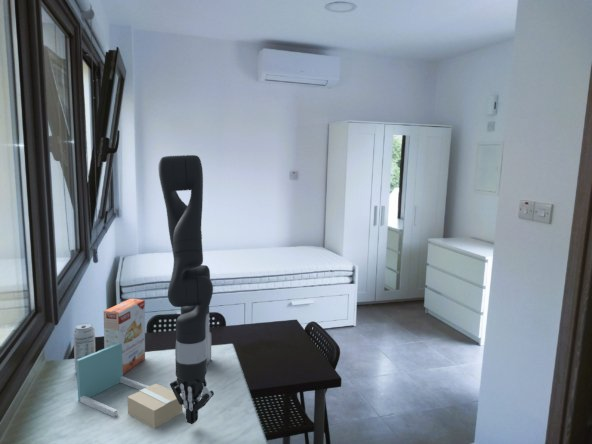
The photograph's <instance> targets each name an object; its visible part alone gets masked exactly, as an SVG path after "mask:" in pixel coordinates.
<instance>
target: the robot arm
mask: <svg viewBox="0 0 592 444" xmlns="http://www.w3.org/2000/svg"><path fill="white" fill-rule="evenodd" d="M158 161H159V162H158V177H159V182H160V186H161V191H162V194H163V200H164V204H165V209H166V216H167V217H166V218H167V226H168V227H167V228H168V232H169V233H168V235H169V241H170V244H171V245H170V246H171V251H172V255H173V266H172V267H173V268H172V273H171V277H170V281H169V285H168V290H167V299H168V301H169V303H170V304H171V305H172V306H173V307H175V308H180V315H178V317H177V318H176V321H175V322H176V323H175V333H176V335H175V339H176V340H175V349H174V351H175V354H174V356H175V360H174V361H175V362H174V363H175V376H176V379H175V380H173V381H172V382H170V383H169V386H170V388H171V391H173V392H174V394H175V396H176V398H177V400H178V402H179V404H180V405H182V406H183V408H184V409H185V419H186V424H190V425H193V424H195V423H196V422H197V421H198V419H199V410H201V409H202V408H204V407H205V406H206V405H207V403H208V402H209V401H210V400H211V399H212V398H213V396H214V394H215V393H214V390H209V389H208V388H207V381H206V375H207V371H208V368H207V367H208V364H209V363H210V361H211V360H212V332H210V305H211V301H212V298H213V293H214V285H213V282H212V280H211V271H210V268H209V266H208V265H206V264H205V265H203V263H204V253H203V252H204V250H203V241H202V239H203V234H202V220H203V219H202V215H203V201H204V200H203V198H204V175H203V174H204V173H203V165H202V164H203V163H202V162H201V161H202V160H201V158H200V157H199V156H198V155H195V154H193V155H192V154H190V155H189V154H186V155H185V154H184V155H167V156H162V157H161V158H160V159H159V160H158ZM179 191H180V192H181V191H190V196H189V197H190V198H189V201H188V204H186V203H185V202H184V201H183V200H182V199H181V198H180V196H179V194H178V192H179ZM180 395H182V398H181V396H180Z"/></svg>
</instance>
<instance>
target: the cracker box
mask: <svg viewBox="0 0 592 444" xmlns="http://www.w3.org/2000/svg"><path fill="white" fill-rule="evenodd" d="M145 305H146V301H145V300H144V299H138V298H129V299H127V300H125V301H122V302H120V303H117V304H116V305H114V306H112V307H109V308H106V309H105V310H104V311H103V338H104V339H103V343H104V344H103V346H104V348H103V349H105V348H107V347H110V346H112V345H115V344H117V343H122V367H123V375H124V374H126V373H128V372H129V371H130V370H131V369H133V368H134V367H135V366H137V365H138V364H139V363H141V362H142V361H144V360H145V359H146V326H145V325H146V322H145V321H146V317H145V316H146V313H145V312H146V311H145V310H146V308H145V307H146V306H145Z"/></svg>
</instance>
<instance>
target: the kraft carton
mask: <svg viewBox="0 0 592 444" xmlns="http://www.w3.org/2000/svg"><path fill="white" fill-rule="evenodd" d="M148 386H149V385H148ZM180 396H181V398H182V394H180ZM183 411H184V410H183V404H182V405H180V404H179V402H178V400H177V398H176V396H175V394H174V392H173V390H172V389H169V388H168V387H165V386H163V385H161V384H158V383H154V384H151V385H150V386H149V387H147V388H144V389H142V390H138V391H137V392H135V393H133V394H130V395H128V396H127V414H128V415H130V416H131V417H133V418H134V419H137V420H139V421H140V422H142V423H144V424H146V425H148V426H149V427H151V428H153V429H156V428H158V427H160V426H162V425H164V424H165V423H166V422H168V421H171V420H172V419H173V418H175V417H176V416H179V415H181V414H182V413H183Z"/></svg>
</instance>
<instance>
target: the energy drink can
mask: <svg viewBox="0 0 592 444" xmlns="http://www.w3.org/2000/svg"><path fill="white" fill-rule="evenodd" d="M72 335H73V337H72V338H73V353H74V355H73V356H74V372H75V373H77V361H76V360H78V359H80V358H82V357H85V356H87V355H90V354H92V353H95V352H96V333H95V328H94V326H93V324H92V323H90V322H89V323H88V322H86V323H80V324H77V325H76V326H75V327H74V330H73V333H72Z"/></svg>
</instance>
